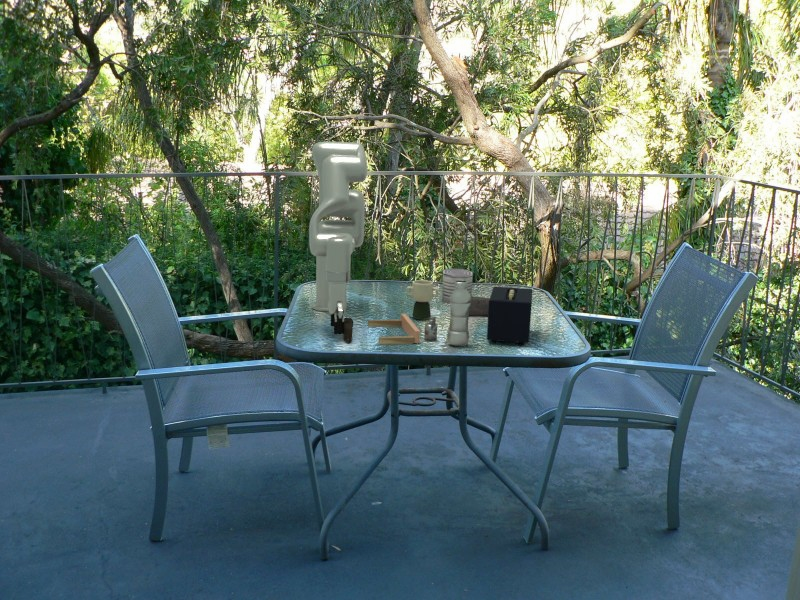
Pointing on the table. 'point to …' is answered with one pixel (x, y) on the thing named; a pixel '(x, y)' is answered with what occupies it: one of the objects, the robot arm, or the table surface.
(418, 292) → the character mug
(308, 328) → the table surface
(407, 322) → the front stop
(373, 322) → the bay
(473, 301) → the perforated stone tool
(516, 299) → the speaker
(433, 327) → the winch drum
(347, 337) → the dark brown log
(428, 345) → the table surface
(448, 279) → the can
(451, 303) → the plastic bottle
